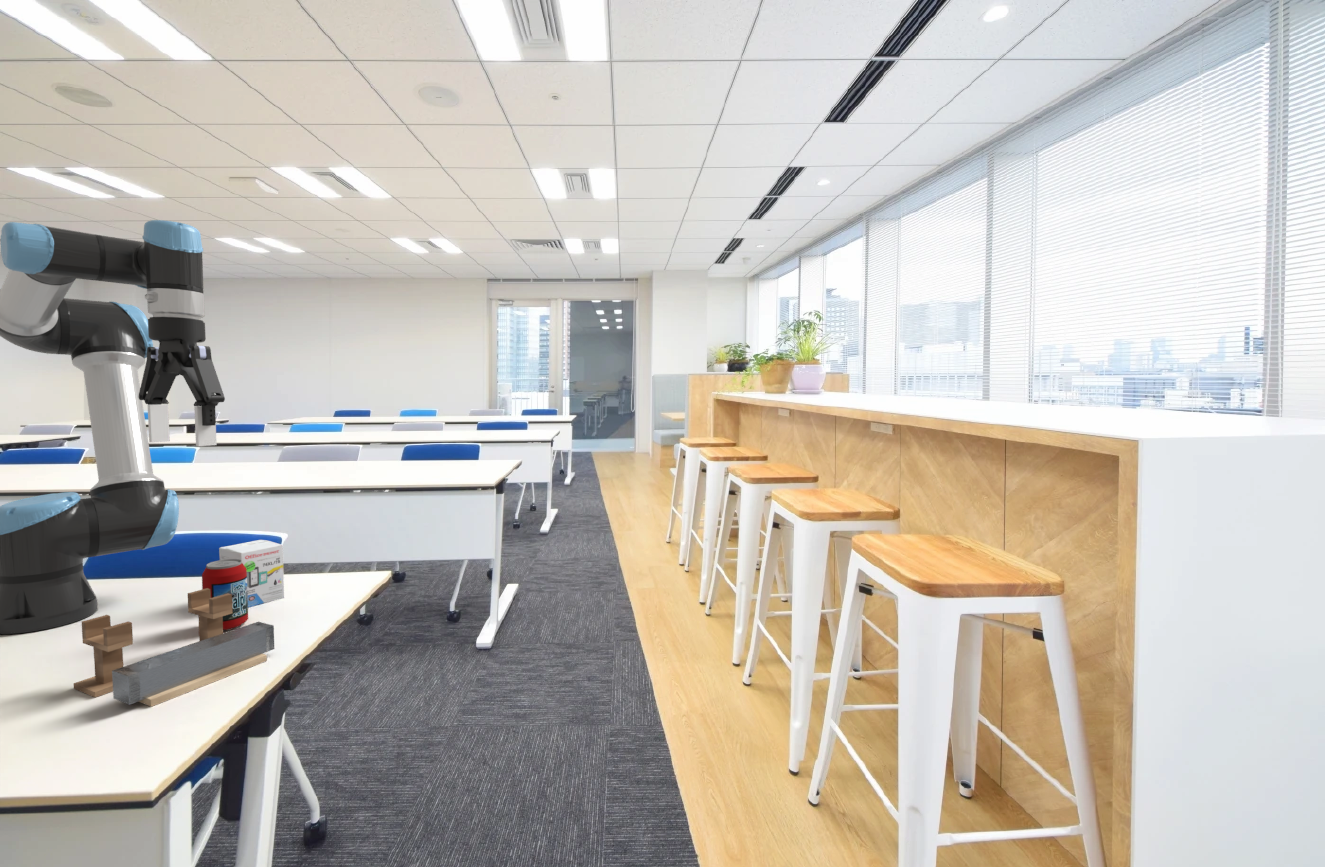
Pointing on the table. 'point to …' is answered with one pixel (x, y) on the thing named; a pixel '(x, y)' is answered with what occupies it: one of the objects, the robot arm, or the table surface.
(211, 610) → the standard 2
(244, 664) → the light wooden board
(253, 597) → the ink box
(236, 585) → the beverage can
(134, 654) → the table surface
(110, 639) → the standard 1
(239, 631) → the rail
